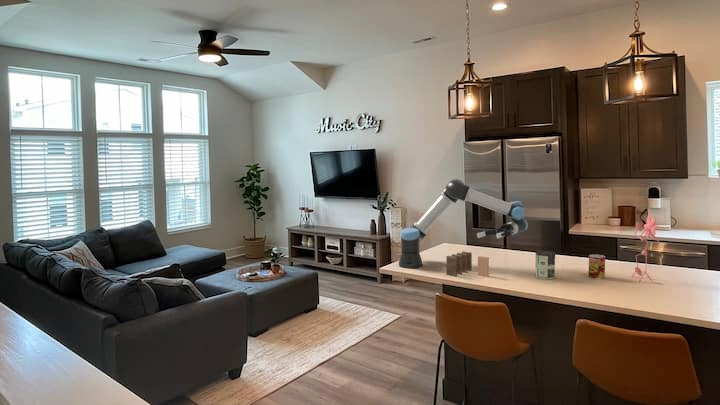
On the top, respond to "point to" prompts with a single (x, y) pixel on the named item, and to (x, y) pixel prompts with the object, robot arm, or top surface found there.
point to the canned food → (596, 266)
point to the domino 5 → (483, 266)
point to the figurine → (650, 230)
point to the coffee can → (545, 265)
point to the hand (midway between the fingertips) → (487, 236)
